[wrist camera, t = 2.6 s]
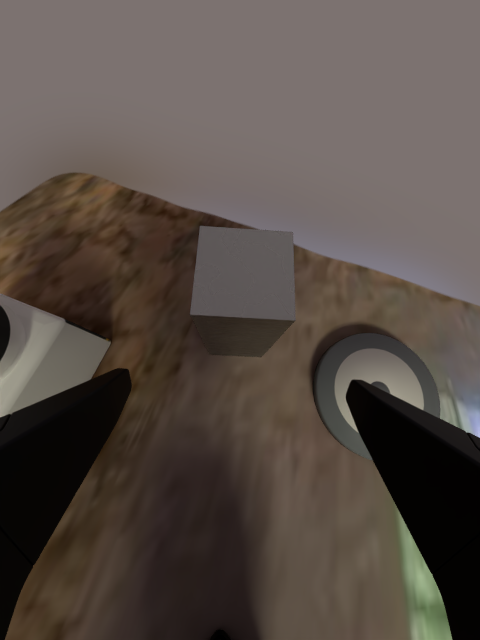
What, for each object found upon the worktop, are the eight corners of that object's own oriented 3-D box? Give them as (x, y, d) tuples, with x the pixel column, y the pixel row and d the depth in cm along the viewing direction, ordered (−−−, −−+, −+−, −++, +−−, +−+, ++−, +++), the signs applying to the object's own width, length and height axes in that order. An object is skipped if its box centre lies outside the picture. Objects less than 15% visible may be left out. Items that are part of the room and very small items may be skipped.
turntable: (384, 489, 20) (394, 496, 19) (289, 391, 22) (292, 391, 21) (450, 394, 22) (463, 394, 21) (359, 314, 24) (366, 310, 23)
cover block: (261, 357, 23) (295, 320, 11) (209, 354, 23) (189, 314, 11) (262, 308, 24) (292, 232, 13) (213, 305, 24) (200, 225, 13)
